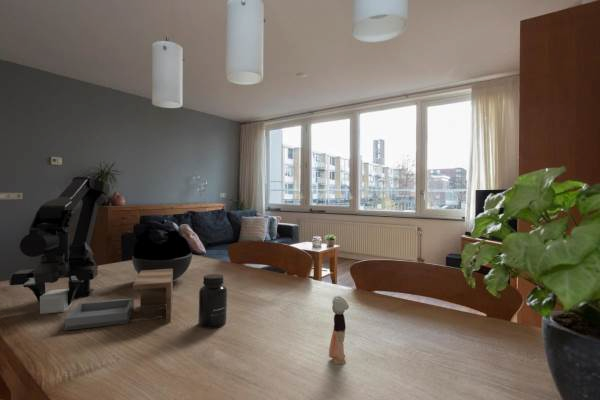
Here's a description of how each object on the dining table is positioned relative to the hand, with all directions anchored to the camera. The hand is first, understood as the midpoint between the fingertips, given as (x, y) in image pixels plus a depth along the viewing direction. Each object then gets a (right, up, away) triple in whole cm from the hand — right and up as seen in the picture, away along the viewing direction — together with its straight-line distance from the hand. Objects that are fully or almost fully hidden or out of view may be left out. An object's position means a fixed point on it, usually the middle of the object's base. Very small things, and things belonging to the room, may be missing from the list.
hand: (56, 305), depth 88 cm
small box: (0, -1, 0) cm, 1 cm away
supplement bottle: (+45, -2, -8) cm, 46 cm away
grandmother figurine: (+75, -3, -25) cm, 79 cm away
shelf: (+28, -1, -2) cm, 28 cm away
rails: (+20, -1, -5) cm, 21 cm away
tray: (+17, -1, -6) cm, 18 cm away
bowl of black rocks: (+18, -1, +28) cm, 33 cm away
